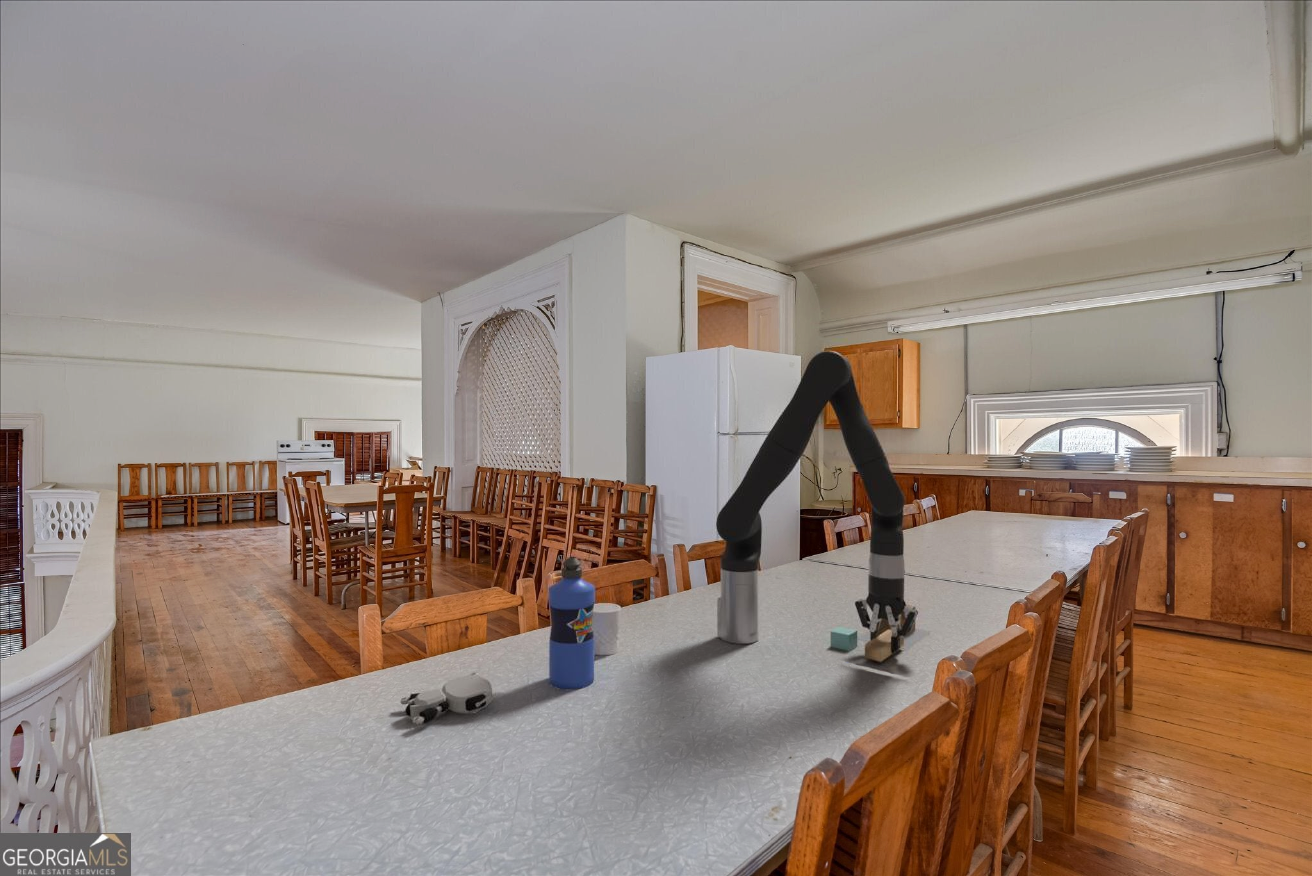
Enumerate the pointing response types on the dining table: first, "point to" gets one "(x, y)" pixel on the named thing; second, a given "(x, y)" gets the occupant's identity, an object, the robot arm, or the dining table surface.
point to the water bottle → (571, 629)
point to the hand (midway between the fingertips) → (885, 649)
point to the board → (908, 639)
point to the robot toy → (450, 698)
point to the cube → (844, 638)
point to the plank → (880, 646)
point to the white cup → (606, 628)
